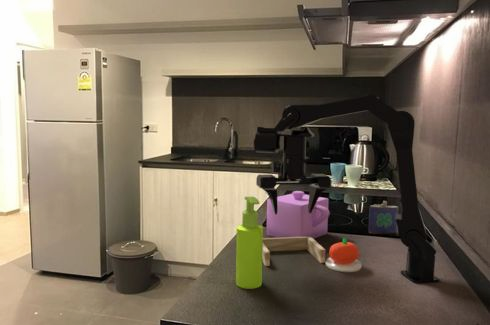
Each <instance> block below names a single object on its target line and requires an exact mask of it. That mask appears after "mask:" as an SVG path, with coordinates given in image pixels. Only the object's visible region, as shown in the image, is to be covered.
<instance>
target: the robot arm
mask: <svg viewBox="0 0 490 325" xmlns="http://www.w3.org/2000/svg"><path fill="white" fill-rule="evenodd" d="M363 112H370V113H371V114H372V115H374V116H375V117H377V118H378V119H380V120H381V121H382V122H384V123H386V124H387V129H388V131H389V134H390V138H391V141H392V144H393V146H394V150H395V153H396V163H397V164H396V165H397V170H398V171H397V173H398V181H399V191H400V197H401V198H400V199H401V207H402V208H401V214H400V213H398V214H396V223H397V233H396V237H400V241H401V243H402V244H403V245H404V246H405V247H407V252H406V264H405V265H406V266H405V268H406V269H405V270H400V273H401V275H403V276H404V277H406V278H407V279H408V280H410V281H412V282H413V283H416V284H419V283H433V282H435V283H436V282H440V280H441V279H440V278H439V277H437V276H436V275H435V266H436V254H437V247H436V244H435V241H434V239H433V238H432V237H431V235H429V234H428V233H427V229H426V226H425V223H424V220H423V217H422V213H421V210H420V208H419V201H418V200H419V198H418V191H417V190H418V189H417V181H416V174H415V172H416V171H415V163H414V154H413V145H414V138H415V137H414V135H415V134H414V133H415V124H416V123H415V118H414V117H413V115H412V113H410V112H408V111H405V110H397V109H395V108H394V107H392V106H390V105H389V104H388V103H386V102H384V101H383V100H381V99H380V98H379V97H378V96H377V95H376V94H374V93H367V94H365V95H363V96H357V97H352V98H351V97H350V98H346V99H342V100H341V99H340V100H335V101H331V102H330V101H329V102H325V103H320V104H290V105H288V106H286V107H285V108H284V109H283V111H282V113H281V114H282V115H281V116H282V117H281V118H280V120H279V121H278V123H277V124H276V125H275V126H274V127H267V126H257V127H256V128H257V129H256V133H255V136H254V139H253V149H254V151H255V153H266V154H278V153H279V151H280V150H283V153H282V154H283V156H282V158H281V163H280V161H279V160H272V161H271V165H270V171H271V173H270V174H258V175H257V176H256V180H255V181H256V182H255V184H256V186H257V187H258V188H259V189H261V190H263V191H264V192H267V193H268V194H267V195H268V197H269V198H268V199H270V200H271V204H272V207H273V210H274V213H275V214H277V209H278V207H277V197H278V189H277V188H276V186H277V185H281V186H282V185H284V186H285V185H308V190H309V193H308V195H309V203H308V213H311V212H312V210H313V208H314V206H315V204H316V202H317V200H318V198H319V197H321V195H322V194H323V192H326V191H327V188H332V178H331V177H330V175H328V174H325V173H311V174H310V175H309V176H307V174H306V164H307V163H308V162H307V161H308V159H307V158H306V157H307V154H306V153H307V152H306V151H307V138H313V137H315V133H314V132H312V131H311V129H310V128H309V127H306V126H307V125H310V124H313V123H315V122H318V121H320V120H323V119H329V118H334V117H340V116H345V115H350V114H357V113H363ZM304 126H305V128H304V129H303V130H301V129H300V130H299V129H296V128H303V127H304ZM292 129H293V130H292ZM288 131H291V133H283V132H288ZM273 174H277V176H275V175H273Z"/></svg>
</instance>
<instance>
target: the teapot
mask: <svg viewBox="0 0 490 325" xmlns="http://www.w3.org/2000/svg"><path fill="white" fill-rule="evenodd" d="M264 192H265V191H264ZM265 194H266V195H268V193H267V192H265ZM308 203H309V194H306V193H305V192H304V191H301V190H294V191H292V193H289V194H285V195H280V196H277V207H278V209H277V214H275V213H274V210H273V207H272V204H271V200H270V198H268V199H267V202H266V236H268V237H271V238H278V237H303V236H310V237H312V238H313V239H314V240H315V239H317V238H319V237H322V236H325V235H327V234H328V227H329V226H328V225H329V224H328V222H329V216H330V214H331V213H330V212H331V211H330V210H329V198H328V197H321V196H320V197H319V198H318V200H317V202H316V204H315V206H314V208H313V210H312V212H311V213H308Z"/></svg>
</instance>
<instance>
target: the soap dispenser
mask: <svg viewBox="0 0 490 325" xmlns="http://www.w3.org/2000/svg"><path fill="white" fill-rule="evenodd" d="M244 200H245V201H246V205H245V206H246V209H245V210H243V211H242V214H241V215H242V221H241V222H242V224H240V225H237V227H236V249H235V250H236V253H235V255H236V256H235V258H236V259H235V266H236V267H235V271H236V272H235V284H236V286H238V287H239V288H242V289H249V290H250V289H257V288H259V287H261V286H262V285H263V262H262V253H263V238H264V227H263V226H262V225H259V224H258V221H259V220H258V214H259V212H258V211H256V210H255V205H260V201H259V199H258V198H256V197H254V196H244Z"/></svg>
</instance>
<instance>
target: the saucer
mask: <svg viewBox="0 0 490 325" xmlns="http://www.w3.org/2000/svg"><path fill="white" fill-rule="evenodd" d="M324 264H325V266H326V268H328V269H330V270H332V271H336V272H342V273H355V272H358V271H360V270H361V269H362V266H363V265H362V262H361V261H360V260H359V259H357V260H355V261H354V262H352V263H348V264H341V263H337V262H335V261H333V260H332V259H331V258H330V257H328V258H325V263H324Z"/></svg>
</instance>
